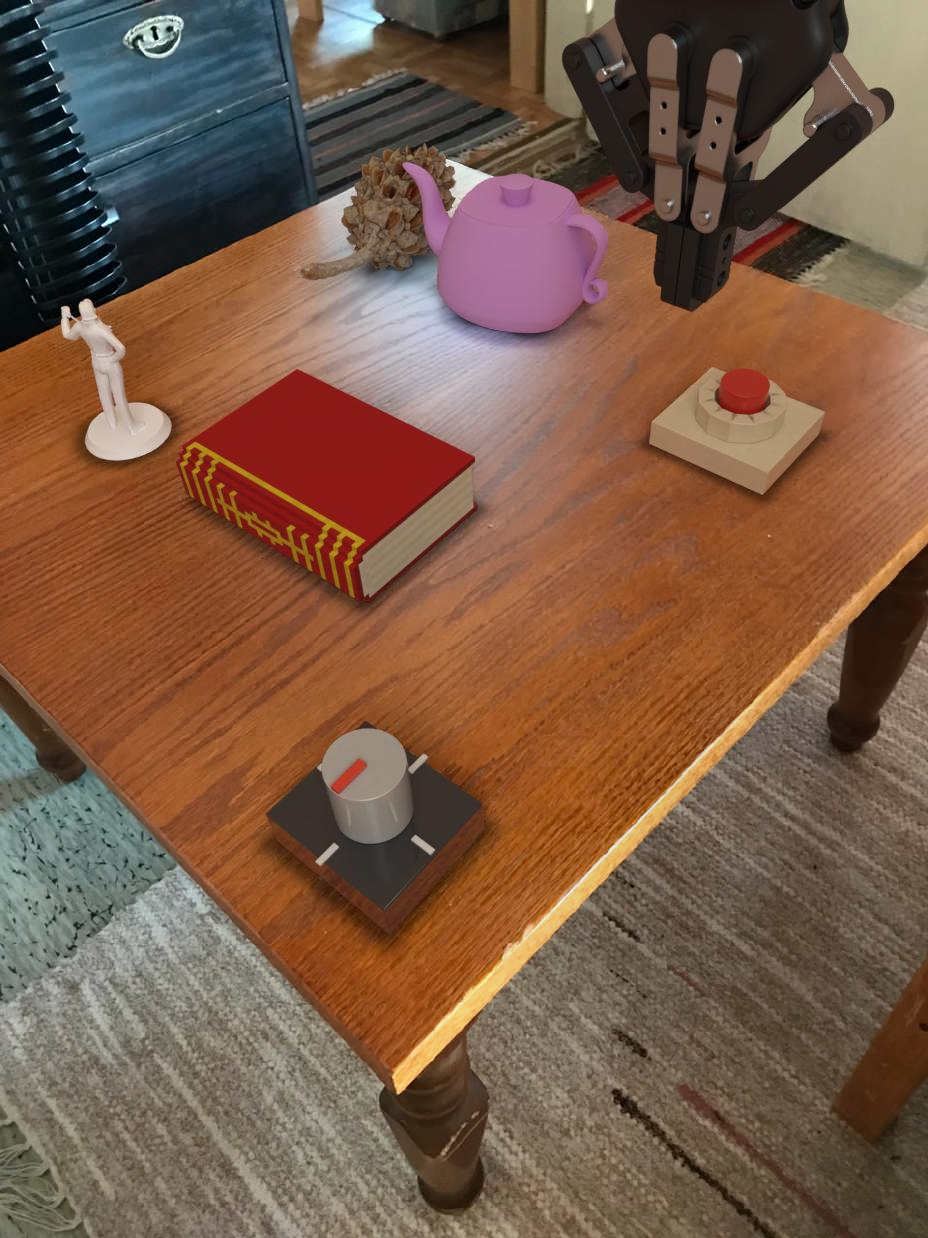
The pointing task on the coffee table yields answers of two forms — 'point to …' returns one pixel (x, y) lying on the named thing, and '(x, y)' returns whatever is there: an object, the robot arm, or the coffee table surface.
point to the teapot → (513, 252)
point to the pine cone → (388, 213)
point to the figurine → (114, 395)
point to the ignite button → (743, 391)
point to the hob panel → (388, 870)
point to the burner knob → (368, 785)
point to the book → (331, 482)
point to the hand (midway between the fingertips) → (688, 298)
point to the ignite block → (736, 433)
